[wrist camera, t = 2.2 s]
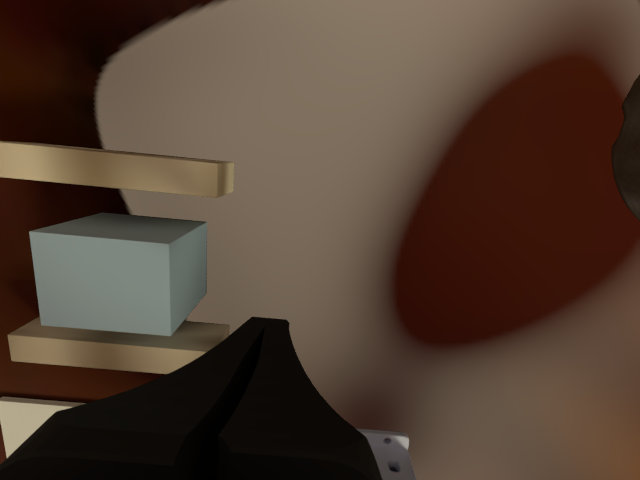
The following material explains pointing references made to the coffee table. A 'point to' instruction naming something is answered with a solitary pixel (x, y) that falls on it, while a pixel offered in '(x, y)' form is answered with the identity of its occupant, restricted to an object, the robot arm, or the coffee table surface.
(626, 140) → the plant pot
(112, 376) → the coffee table surface
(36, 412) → the coaster
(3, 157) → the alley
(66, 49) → the coffee table surface
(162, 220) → the block
